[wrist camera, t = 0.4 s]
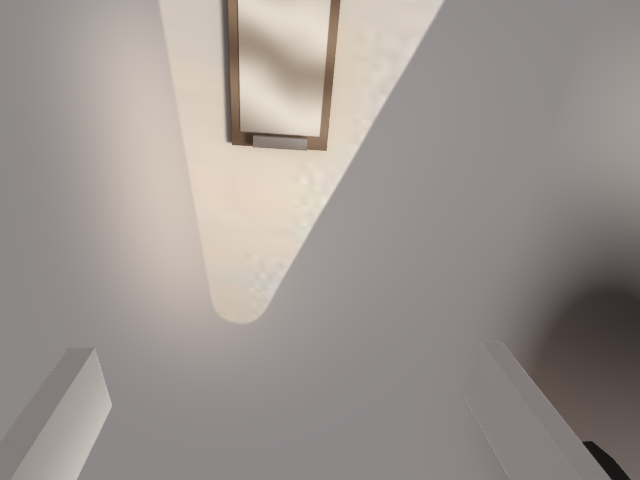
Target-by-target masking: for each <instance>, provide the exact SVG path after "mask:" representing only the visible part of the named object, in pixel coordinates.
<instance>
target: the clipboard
mask: <svg viewBox="0 0 640 480" xmlns="http://www.w3.org/2000/svg"><path fill="white" fill-rule="evenodd" d="M339 10H340V0H228V23H229V56H230V90H231V123H232V145H243V146H253V147H260V148H276V149H292V150H323V151H326V150H327V139H328V128H329V117H330V107H331V96H332V85H333V74H334V63H335V53H336V42H337V31H338V20H339Z"/></svg>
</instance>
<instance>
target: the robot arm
mask: <svg viewBox="0 0 640 480" xmlns="http://www.w3.org/2000/svg"><path fill="white" fill-rule="evenodd" d="M461 393H462V395H463V396H464V398H465V400H466V402H467V403H468V405H469V407H470V409H471V411H472V413H473V414H474V416H475V418H476V420H477V422H478V423H479V425H480V427H481V429H482V431H483V433H484V435H485V436H486V438H487V440H488V442H489V444H490V445H491V447H492V449H493V451H494V453H495V454H496V456H497V458H498V460H499V462H500V464H501V465H502V467H503V469H504V471H505V473H506V474H507V476H508V478H509V480H631V479H630V478H629V477H628V476H627V475H626V473H625V472H624V471H623V470H622V469H621V468H620V466H619V465H618V464H617V463H616V462H615V461H614V459H613V458H611V457H610V456H609V455H608V454H607V453H605V452H604V451H603V450H602V449H601V448H599V447H598V446H597V445H596V444H595V443H593V442H592V441H588V442H581V441H580V439H579V438H578V437H577V436H576V434H575V433H574V432H573V431H572V429H571V428H570V427H569V426H568V424H567V423H566V422H565V421H564V419H563V418H562V417H561V416H560V414H559V413H558V412H557V410H556V409H555V408H554V407H553V405H552V404H551V403H550V402H549V400H548V399H547V398H546V397H545V396H544V394H543V393H542V392H541V390H540V389H539V388H538V387H537V385H536V384H535V383H534V382H533V380H532V379H531V378H530V377H529V375H528V374H527V373H526V372H525V370H524V369H523V368H522V367H521V365H520V364H519V363H518V362H517V360H516V359H515V358H514V356H513V355H512V354H511V353H510V351H509V350H508V349H507V348H506V346H505V345H504V344H503V343H502V341H501V340H491V341H481V343H480V345H479V348H478V351H477V353H476V355H475V358H474V361H473V363H472V366H471V368H470V371H469V373H468V376H467V378H466V381H465V383H464V386H463V389H462V391H461ZM111 407H112V404H111V401H110V397H109V394H108V391H107V387H106V384H105V381H104V377H103V374H102V371H101V368H100V364H99V360H98V357H97V354H96V350H95V348H68V349H67V351H66V352H65V353H64V355H63V356H62V357H61V359H60V360H59V362H58V363H57V364H56V366H55V367H54V368H53V370H52V371H51V373H50V374H49V375H48V377H47V378H46V380H45V381H44V382H43V383H42V385H41V386H40V388H39V389H38V390H37V392H36V393H35V394H34V396H33V397H32V398H31V400H30V401H29V403H28V404H27V406H26V407H25V408H24V409H23V411H22V412H21V414H20V415H19V416H18V418H17V419H16V420H15V422H14V423H13V424H12V426H11V427H10V429H9V430H8V431H7V433H6V434H5V436H4V437H3V438H2V440H1V441H0V480H77V477H78V475H79V473H80V471H81V469H82V467H83V465H84V463H85V461H86V459H87V457H88V454H89V453H90V451H91V448H92V446H93V444H94V442H95V440H96V438H97V436H98V434H99V432H100V430H101V428H102V426H103V424H104V421H105V419H106V417H107V415H108V413H109V411H110V409H111Z"/></svg>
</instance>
